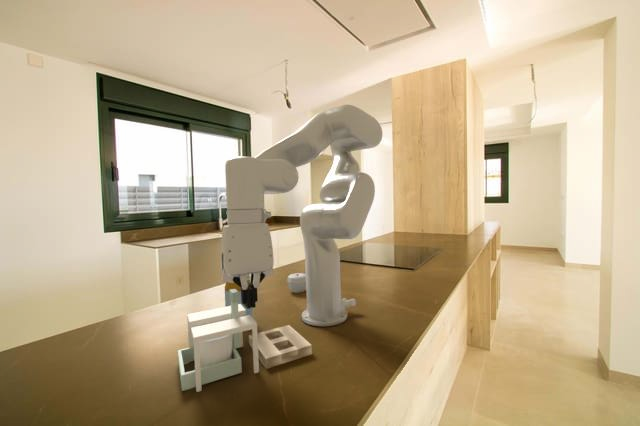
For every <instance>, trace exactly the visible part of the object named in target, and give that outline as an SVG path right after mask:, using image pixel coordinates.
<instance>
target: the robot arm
mask: <svg viewBox="0 0 640 426" xmlns="http://www.w3.org/2000/svg"><path fill="white" fill-rule="evenodd" d="M382 139H383V128H382V126H381V124H380V122H379V121H378V120H377V119H376V118H375V117H374V116H372V115H370V114H369V113H368V112H365V111H364V110H363V109H361V108H359V107H358V106H355V105H353V104H342V105H338V106H335V107H332V108H329V109H324V110H322V111H319V112H318V113H316V114H315V115H314V116H313V117H312V118H310V119H309V120H307V121H306V122H305V124H303V125H302V126H301V127H299V129H297V130H296V131H295V132H294V133H292V134H290V135H288V136H287V137H285V138H283V139H282V140H280V141H278V142H277V143H275V144H273V145H272V146H270V147H268V148H266V149H264V150H263V151H261V152H260V153H259V154H258V155H256V156H255V157H253V156H234V157H230V158H228V159H227V160H226V162H225V166H224V167H225V172H224V173H225V193H226V194H225V195H226V219H227V221H226V223H227V225H223V227H222V230H221V231H222V233H221V241H220V243H221V244H220V268H221V271H222V273H221V278H220V279H221V281H222V282H224V283H226V282H233V283H236V284H237V285H238V286H239V287H241V302H242V304H244V306H245V307H246V308H247V309H250V308H251V307H252V308H253V309H254V308H256V307H257V306H256V303H257V302H258V300H259V299H258V288H259V287H260V283H262V281H264V279H265V278H267V277H270V276H272V275H274V273H275V272H274V261H275V260H274V250H273V249H274V248H273V242H272V241H273V240H272V235H271V231H270V230H271V229H270V227H269V224H268V223H266V222H267V219H270V218H272V212H271V211H267V209H266V208H265V195H279V194H286V193H289V192H291V191H292V190H293V189H294V188H295V187H297V185H298V182H299V176H300V175H299V172H298V170H297V168H298V167H302V166H305V165H307V164H309V163H311V162H313V161H315V160H317V159H318V158H319V157H320V156H321V154H323V152H324V151H326V149H327V148H328V147H329V146H330V150H331V155H332V160H333V161H332V162H333V163H332V166H331V168H330V170H329V172H328V173H327V175H326V177H325V179H324V181H323V183H322V185H321V187H320V190H319V200H320V201H321V202H316V203H310V204H309V205H307V206H305V207H304V208H303V209H302V211H301V213H300V217H299V224H300V225H299V226H300V230H301V234H302V238H303V247H304V260H305V261H304V262H305V263H304V265H305V274H306V288H305V290H306V295H305V296H306V309H305V310H304V311H302V313H301V320H302V321H303V323H305V324H307V325H310V326H314V327H331V326H332V327H333V326H336V325H340V324H342V323H344V322H345V321H346V320H347V319H348V312H347V310H346V309H347V308H348V307H354V306H357V305H356V304H357V301H356V299H355V298H350V299H348V298H346V297H343V298H342V289H341V288H342V286H341V284H342V283H341V256H340V254H341V253H340V250H339V247H338V245H337V243H336V241H335V240H352V239H356V238H357V237H358V236H359V235H360V234H361V232H362V230H363V227H364V226H365V223H366V221H367V218H368V215H369V213H370V210H371V208H372V206H373V203H374V200H375V195H376V194H375V192H376V188H375V187H376V186H375V181H374V180H373V178H372V176H370V175H369V174H368V173H365V172H362V171H361V172H360V170H361V168H360V165H359V162H358V161H357V160H356V158H355V157H354V156H353V154H352V152H355V151H362V150H367V149H373V148H376V147H377V146H379V145H380V144H381V141H382ZM246 274H250V283H249V285H248V284H247V279H246Z"/></svg>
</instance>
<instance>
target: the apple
mask: <svg viewBox="0 0 640 426" xmlns="http://www.w3.org/2000/svg"><path fill="white" fill-rule="evenodd" d="M286 284H287V287H288V289H289V290H290V291H291V292H292V293H294V294H299V293H300V292H301V293H303V292H304V291H305V290H306V273H303V272H301V273H300V272H297V273H291V274H289V275H288V276H287V279H286Z"/></svg>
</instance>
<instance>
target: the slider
mask: <svg viewBox="0 0 640 426" xmlns="http://www.w3.org/2000/svg"><path fill="white" fill-rule="evenodd" d="M229 294H230V300H231V319H234V318H238V317H239V313H238V302H239V292H238V291H237V290H236V289H230V290H229ZM232 342H233V343H232V359H231V360H228V361H224V362H221V363H217V364H214V365H210V366H207V367H203V368H201V367H200V370H201V386H203V385H207V384H210V383H213V382H215V381H218V380H222V379H225V378H228V377H231V376H236V375H238V374H241V373H243V370H242V369H243V368H242V357H241V355H240V354H239V352H238V350H237V349H239V348H241V347H240V335H239V333H235V334H233V340H232ZM177 359H178V360H177V362H178V371H179V379H180V386H181V387H180V388H181V391H182V392H183V391H187V390H190V389H194V388H196V379H195V369H193V370H191V371H186V372H185V366H184V364H188V363H189V362H193V361H194V362H195V360H194V346H193V347H189V346H188V347H186V348H185V347H184V348H182V349H178V350H177Z"/></svg>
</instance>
